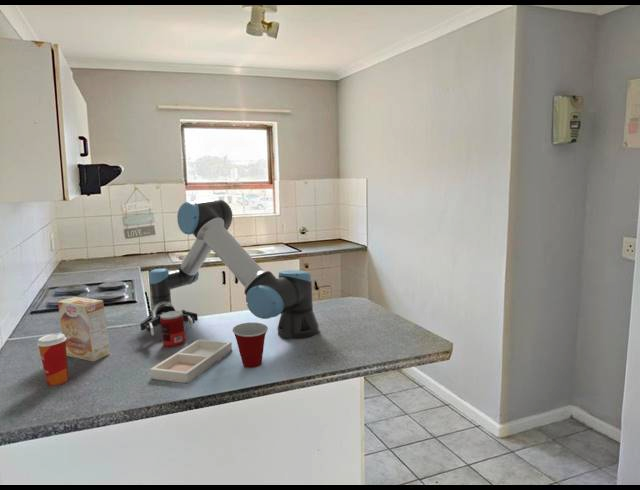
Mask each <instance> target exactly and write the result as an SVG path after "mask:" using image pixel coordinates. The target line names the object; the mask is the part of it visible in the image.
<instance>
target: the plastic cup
mask: <svg viewBox="0 0 640 490" xmlns="http://www.w3.org/2000/svg"><path fill="white" fill-rule="evenodd" d="M268 329H269V328H268V326H267V325H266V324H264V323H259V322H244V323H240V324H237V325H235V326H233V328H232V332H233V333H234V337H235V340H236V344H237V348H238V352H239V356H240V358H241V363H242V364H243V366H244V367H245V368H249V369H250V368H251V369H253V368H257V367H259V366H261V365H262V363H263V355H264V347H265V338H266V334H267V332H268Z"/></svg>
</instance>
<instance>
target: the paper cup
mask: <svg viewBox="0 0 640 490" xmlns="http://www.w3.org/2000/svg"><path fill="white" fill-rule="evenodd" d="M65 340H66V337H65V336H64V334H62V333H52V334H47V335H44V336H41V337H40V338H38V339H37V344H36V346H37V347H38V350H39V354H40V359H41V362H42V367H43V371H44V375H45V376H44V377H45V379H46V384H47V385H48V386H50V387H51V386H52V387H54V386H59V385H62V384H64V383H67V381H68V380H69V367H68V358H67V357H68V356H67V353H66V341H65Z"/></svg>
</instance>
